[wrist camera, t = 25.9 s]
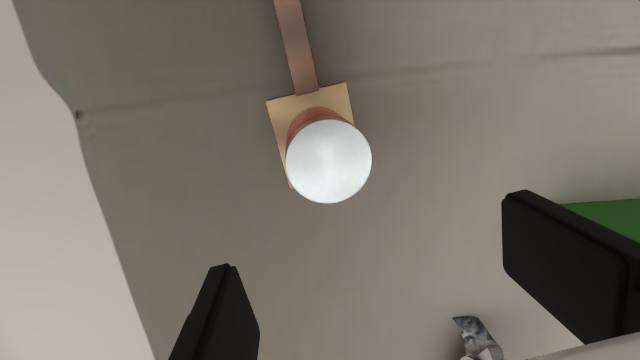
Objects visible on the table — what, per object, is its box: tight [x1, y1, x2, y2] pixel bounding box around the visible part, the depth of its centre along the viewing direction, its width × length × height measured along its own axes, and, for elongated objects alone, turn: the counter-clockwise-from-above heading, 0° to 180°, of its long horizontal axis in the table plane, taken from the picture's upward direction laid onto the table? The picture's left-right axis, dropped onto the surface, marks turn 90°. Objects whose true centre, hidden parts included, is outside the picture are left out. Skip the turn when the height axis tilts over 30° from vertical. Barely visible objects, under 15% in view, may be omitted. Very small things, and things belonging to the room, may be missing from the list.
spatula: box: [266, 0, 354, 189], centre depth 29 cm, size 21×9×5 cm, turn 13°
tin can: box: [285, 106, 372, 204], centre depth 28 cm, size 7×7×11 cm
